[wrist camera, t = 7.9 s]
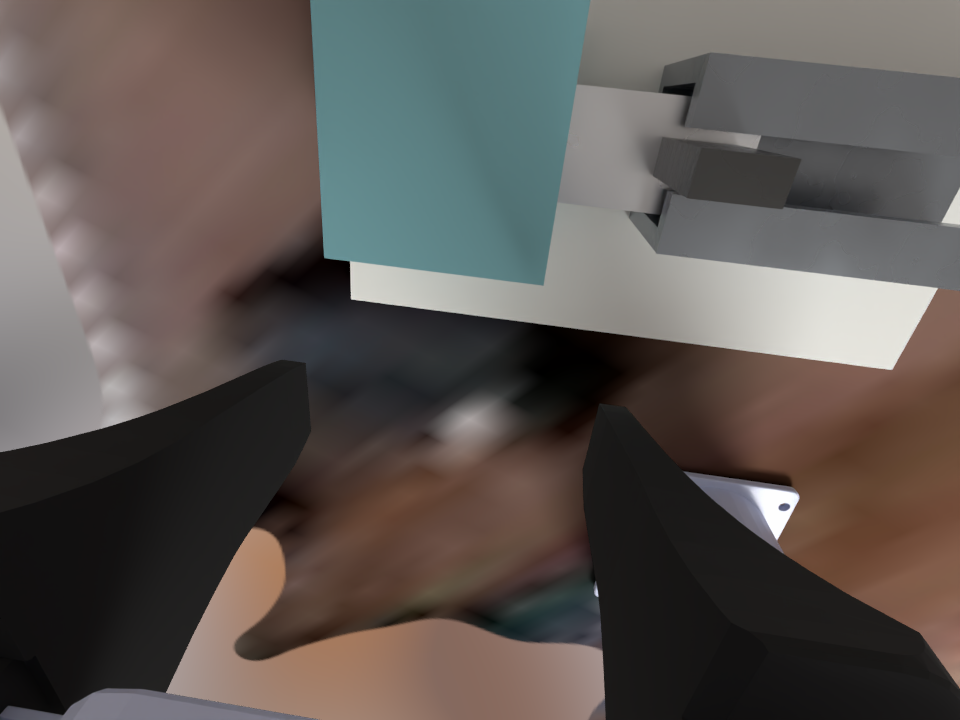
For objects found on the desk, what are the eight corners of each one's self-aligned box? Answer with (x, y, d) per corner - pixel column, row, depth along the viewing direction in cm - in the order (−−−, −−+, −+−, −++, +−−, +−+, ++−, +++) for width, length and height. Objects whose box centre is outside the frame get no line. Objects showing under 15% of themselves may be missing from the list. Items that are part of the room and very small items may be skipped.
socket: (542, 237, 19) (543, 285, 14) (379, 217, 19) (324, 257, 14) (576, 14, 15) (594, -26, 11) (378, -5, 16) (306, -54, 11)
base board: (877, 358, 20) (892, 369, 20) (358, 291, 22) (351, 299, 21) (1112, -79, 14) (1150, -91, 13) (349, -145, 15) (337, -160, 14)
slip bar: (701, 203, 17) (788, 258, 11) (410, 170, 17) (345, 204, 11) (730, 104, 15) (849, 105, 9) (413, 70, 16) (340, 51, 10)
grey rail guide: (911, 251, 18) (1030, 299, 13) (628, 218, 18) (656, 253, 14) (990, 99, 15) (1163, 98, 11) (664, 65, 16) (711, 52, 12)
